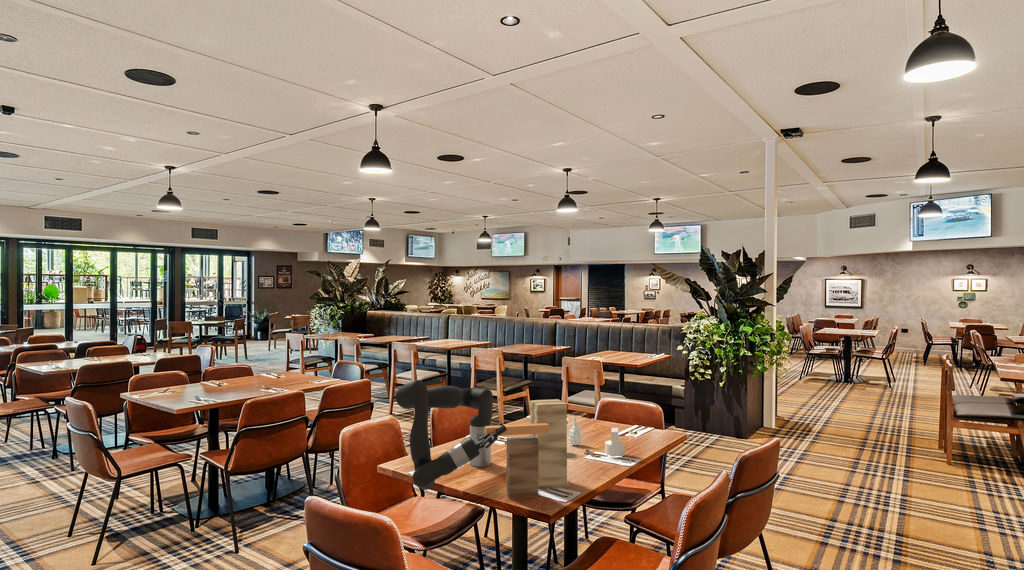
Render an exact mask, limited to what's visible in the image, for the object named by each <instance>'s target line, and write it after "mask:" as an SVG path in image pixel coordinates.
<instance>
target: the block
mask: <svg viewBox="0 0 1024 570" xmlns="http://www.w3.org/2000/svg"><path fill="white" fill-rule="evenodd" d="M506 496H507V497H508V500H514V499H515V500H517V499H523V498H525V499H526V498H535V497H536V498H538V497H539V490H538V439H537V438H536V437H535V436H531V437H530V436H520V437H519V436H518V437H507V438H506Z"/></svg>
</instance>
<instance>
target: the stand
mask: <svg viewBox="0 0 1024 570" xmlns="http://www.w3.org/2000/svg"><path fill="white" fill-rule="evenodd" d="M567 404H568V403H566V402H565V401H563V400H560V399H559V398H554V399H535V400H533V399H532V400H529V424H538V423H547V424H549V433H538V434H529V437H531V436H535V437H536V438H537V439H538V489H542V490H549V489H548V488H553V489H562V488H571V484H570V483H569V482H568V463H567V462H568V439H567V438H568V432H567V431H568V426H567V425H568V423H567V422H568V419H567V418H568V417H567V416H568V415H567V412H568V409H567V408H568V405H567Z"/></svg>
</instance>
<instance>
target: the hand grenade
mask: <svg viewBox="0 0 1024 570" xmlns="http://www.w3.org/2000/svg"><path fill="white" fill-rule="evenodd" d="M577 422H580V423H581V421H580V420H577V417H576V416H574V417H573V425H572V427H571V428H570V429H569V433H568V441H569V444H570V445H572V444H573V445H578V446H579V445H580V444H581V441H584V440H585V439H584V429H583V428H582V426H581V425H578V424H577Z"/></svg>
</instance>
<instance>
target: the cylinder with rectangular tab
mask: <svg viewBox="0 0 1024 570" xmlns="http://www.w3.org/2000/svg"><path fill="white" fill-rule="evenodd" d="M610 432H611V433H610V438H611V439H610V440H606V441H604V455H605V454H607V455H610V456H624V455H625V456H626V454H625V453H626V449H625V447H626V443H625V442H624V441H622V440H619V427H611V430H610Z"/></svg>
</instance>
